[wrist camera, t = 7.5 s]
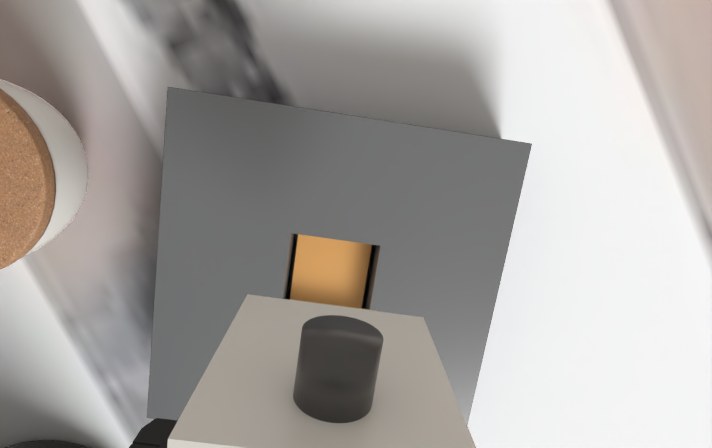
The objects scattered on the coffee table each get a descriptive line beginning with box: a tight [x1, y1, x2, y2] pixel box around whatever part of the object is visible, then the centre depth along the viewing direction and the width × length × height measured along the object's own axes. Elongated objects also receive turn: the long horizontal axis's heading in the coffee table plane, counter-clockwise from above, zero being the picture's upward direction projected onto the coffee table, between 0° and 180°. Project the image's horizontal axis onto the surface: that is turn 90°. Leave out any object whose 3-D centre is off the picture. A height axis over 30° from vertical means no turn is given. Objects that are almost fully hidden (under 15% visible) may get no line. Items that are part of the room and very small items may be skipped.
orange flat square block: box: [290, 234, 372, 308], centre depth 30 cm, size 5×5×1 cm
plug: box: [167, 294, 476, 448], centre depth 14 cm, size 6×9×10 cm
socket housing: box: [147, 87, 532, 424], centre depth 30 cm, size 20×20×5 cm
